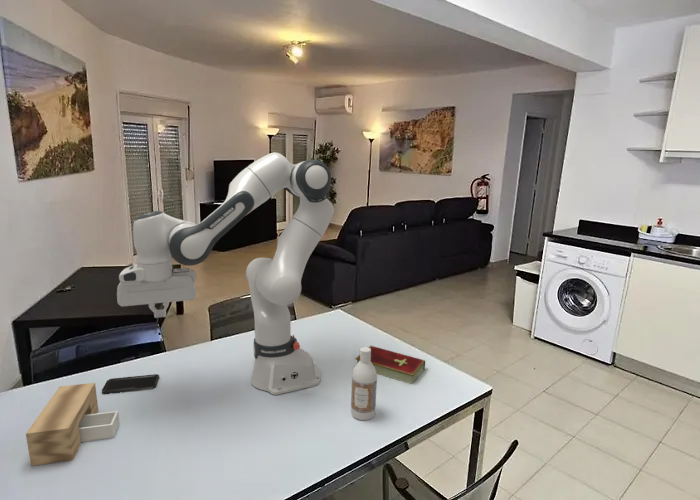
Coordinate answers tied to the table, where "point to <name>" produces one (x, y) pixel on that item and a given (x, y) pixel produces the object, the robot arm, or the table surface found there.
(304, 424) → the table surface
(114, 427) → the white drawer
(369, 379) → the bath foam
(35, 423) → the overhang dock
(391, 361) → the hardcover book
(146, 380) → the phone
